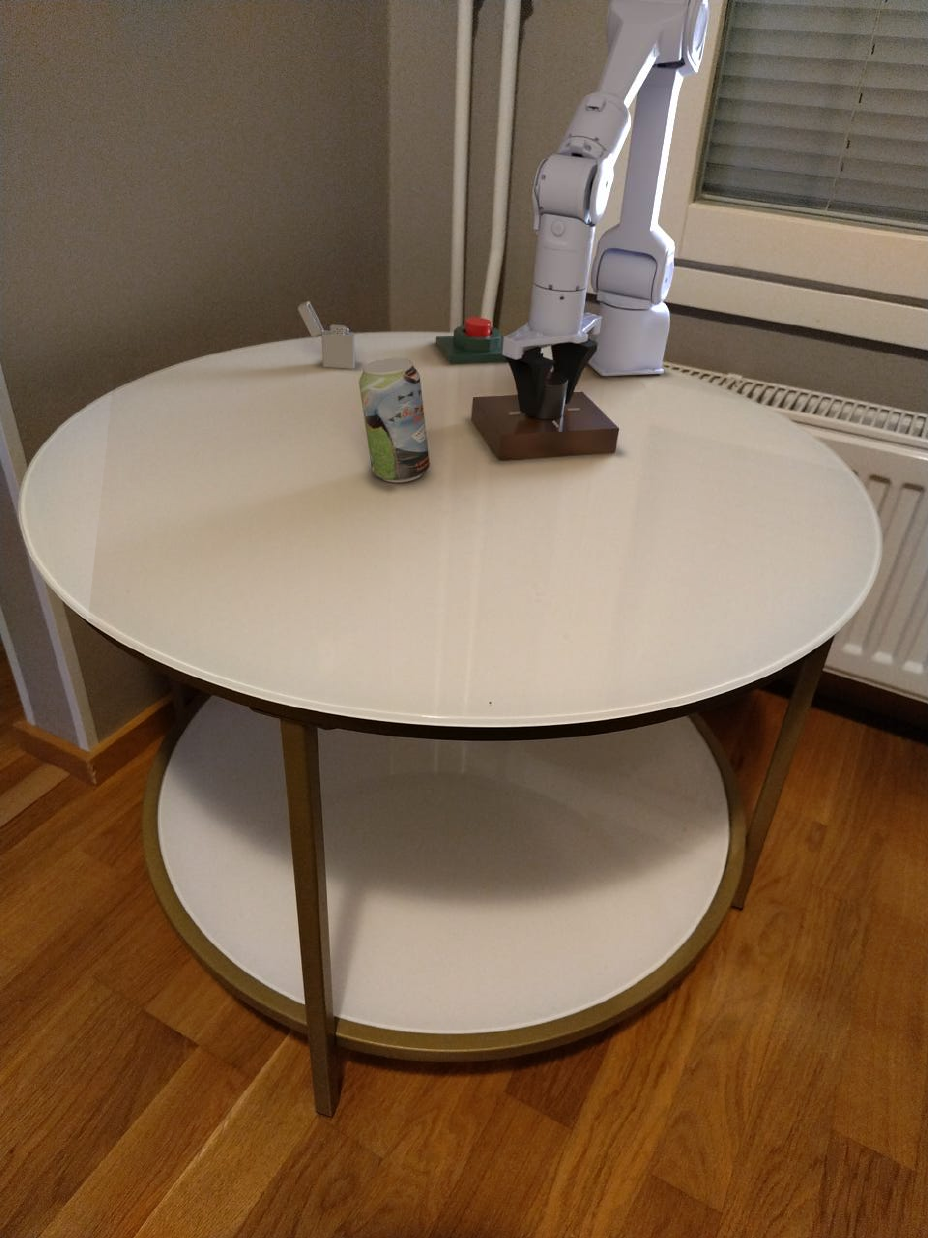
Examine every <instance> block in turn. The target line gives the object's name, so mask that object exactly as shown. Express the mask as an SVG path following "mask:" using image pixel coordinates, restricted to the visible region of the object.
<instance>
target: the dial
mask: <svg viewBox="0 0 928 1238" xmlns="http://www.w3.org/2000/svg"><path fill="white" fill-rule="evenodd" d="M567 384H568V379H567V377H566V376H564V375H562V374H560V373H556V372H553V371H551V370H550V372H549V375H548V377H547V380H546V382H545V386H544V389H543V394H542V399H541V405H540V409H539V412H538V414H537V415H536V416H534V417H536V418H540V419H556V418H559V417H561V416H562V415H563V413H564V406H565V399H566V391H567Z"/></svg>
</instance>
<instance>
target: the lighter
mask: <svg viewBox="0 0 928 1238" xmlns="http://www.w3.org/2000/svg"><path fill="white" fill-rule="evenodd" d="M297 310H298V312H299V314H300V316H301V318H302V320H303V322H304V324H305V326H306V328H307V330H308V332H309V334H310V335H311V338H315V337H319V336H320V335H321V353H322V354H321V355H322V367H324V368H333V369H334V368H335V369H336V368H337V369H350V370H353V369H355V366H356V334H355V332H351V331H350V330H349V328H348V327H347V326H346V325H344V324H333V323H332V324H331V325H330V326H329V330H325V329H324V328H323V326H322V324H321V321H320V319H319V317H318V315H317V313H316V311H315V310H314V307H313V306H312V303H311V302H310V301H309V300H307V301H305V302H302V303H300V304H299V305H298V306H297Z"/></svg>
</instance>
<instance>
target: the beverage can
mask: <svg viewBox="0 0 928 1238" xmlns="http://www.w3.org/2000/svg"><path fill="white" fill-rule="evenodd" d="M358 386H359V387H358V388H359V392H360V400H361V405H362V412H363V418H364V425H365V431H366V439H367V444H368V445H367V446H368V451H369V457H370V464H371V471H372V473H373V474H374V476H376V477H378V478H379V479H380V478H381V480H383V481H385V482H388V483H397V484H398V483H406V482H411V481H413V480H416V479H418V478H420V477H422V475H423V474H424V473H425V472H426V471H427V470H428V469H429V468H430V467H431V466H430V465H431V463H430V452H429V445H428V436H427V435H428V434H427V427H426V418H425V410H424V409H425V408H424V402H423V401H424V400H423V392H422V383H421V375H420V373H419V372H418V369H416V367H414V365H413V360H412V359H409V358H405V357H385V358H379V359H374V360H372V361H369V362H367V363H365V364H363V366H362V373H361V375H360V377H359V381H358Z"/></svg>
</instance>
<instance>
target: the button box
mask: <svg viewBox="0 0 928 1238" xmlns="http://www.w3.org/2000/svg"><path fill="white" fill-rule="evenodd" d="M503 339H504V335H503V334H502V331H500V330H499V329H498V328H496V327H493V326H491V332H490V336H486V337H477V336H470V335H467V334H465V324H463V325H459V326H456V327H455V329H454V330H453V335H436V336H435V346H436V347H437V348H438V350H439V352H440V353H441V354H442V355H443V357H444V358H445V359H446V360H447V362H448V363H449V364H450V365H453V364H455V365H456V364H476V363H477V364H479V363H480V364H481V363H504V362H507V360H506V358H505V355H502V350H503Z"/></svg>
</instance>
